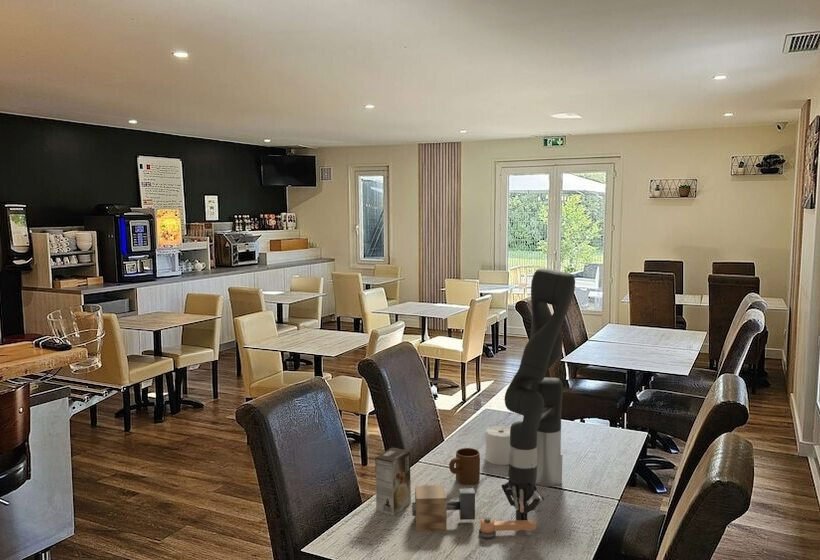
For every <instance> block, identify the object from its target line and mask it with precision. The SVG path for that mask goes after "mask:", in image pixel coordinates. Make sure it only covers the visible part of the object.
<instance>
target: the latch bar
mask: <svg viewBox="0 0 820 560" xmlns="http://www.w3.org/2000/svg"><path fill="white" fill-rule="evenodd" d="M479 529H480V530H481V532H483V533H486V534H490V533H493V532H494V531H496V532H502V531H503V532H504V531H527V530H528V531H529V530H537V523H536V520H535V519H527V520H517V521H516V520H499V521H494V519H492V518H489V517H485V518H484V517H483V518H481V519H480V528H479Z"/></svg>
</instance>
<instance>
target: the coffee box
mask: <svg viewBox="0 0 820 560" xmlns="http://www.w3.org/2000/svg"><path fill="white" fill-rule="evenodd" d="M374 458H375V459H374V460H375V462H374V463H375V500H376V501H375V502H376V503H375V504H376V505H375V507H376V508H375V509H376V511H378V512H381V513H383V514H386V515H387V514H388V515H391V516H395V515H397V514H398V513H400V512H401V511H402V510H403V509H405V508H406V507H407V506H408V505H409V506H410V504H412V496H411V495H412V493H411V492H412V491H411V490H412V489H411V486H412V485H411V451H410V450H407V449H401V448H397V447H390V448H389V449H387V450H385V451H384V452H382V453H380V454H379V455H377V456H375V457H374Z"/></svg>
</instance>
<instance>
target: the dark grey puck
mask: <svg viewBox="0 0 820 560" xmlns="http://www.w3.org/2000/svg"><path fill="white" fill-rule="evenodd" d="M496 533H497V531H494V532H493V533H490V534H486V533H483V532H481V530H480V528H479V529H478V536H479V537H480V538H482V539H484V540H491V539H495V538H496Z"/></svg>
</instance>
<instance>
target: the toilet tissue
mask: <svg viewBox="0 0 820 560" xmlns="http://www.w3.org/2000/svg"><path fill="white" fill-rule="evenodd" d="M510 428H511V426H506V425H494V426H493V425H492V426H489V427H487V428H486V429H485V460H486V461H487V462H489V463H490V464H493V465H501V466H507V465H508V466H509V448H510Z"/></svg>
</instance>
